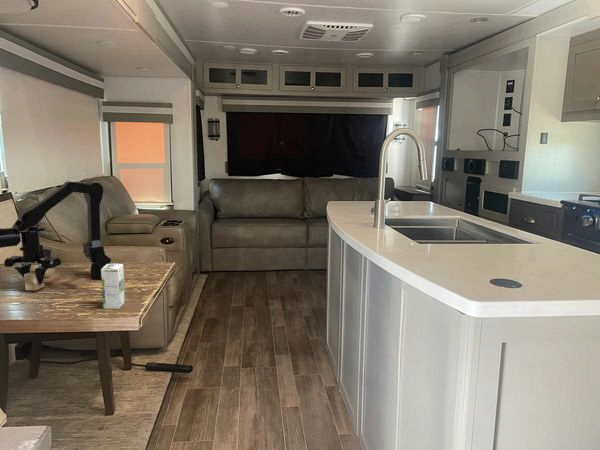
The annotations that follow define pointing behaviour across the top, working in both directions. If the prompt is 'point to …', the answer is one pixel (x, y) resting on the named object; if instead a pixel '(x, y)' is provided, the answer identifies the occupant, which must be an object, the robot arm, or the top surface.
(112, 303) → the syrup box
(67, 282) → the board
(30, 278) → the gauge
